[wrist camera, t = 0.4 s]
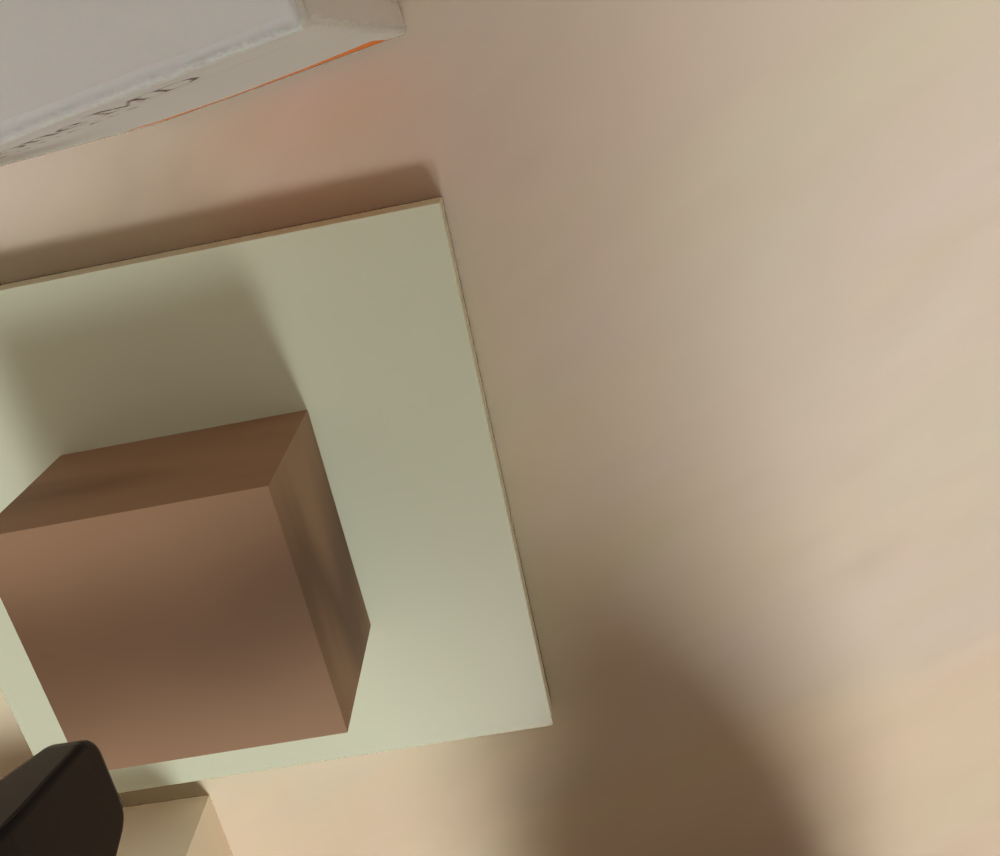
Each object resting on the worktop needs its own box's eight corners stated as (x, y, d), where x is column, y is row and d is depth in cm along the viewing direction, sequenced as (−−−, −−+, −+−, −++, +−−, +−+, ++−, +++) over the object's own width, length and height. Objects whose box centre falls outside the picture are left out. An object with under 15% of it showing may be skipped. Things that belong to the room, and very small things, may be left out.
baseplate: (551, 705, 26) (552, 725, 25) (68, 782, 27) (56, 803, 26) (441, 196, 21) (439, 202, 20) (-154, 315, 22) (-177, 325, 21)
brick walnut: (370, 625, 24) (347, 732, 20) (145, 662, 24) (83, 774, 21) (307, 409, 22) (268, 486, 18) (60, 455, 22) (-27, 538, 19)
